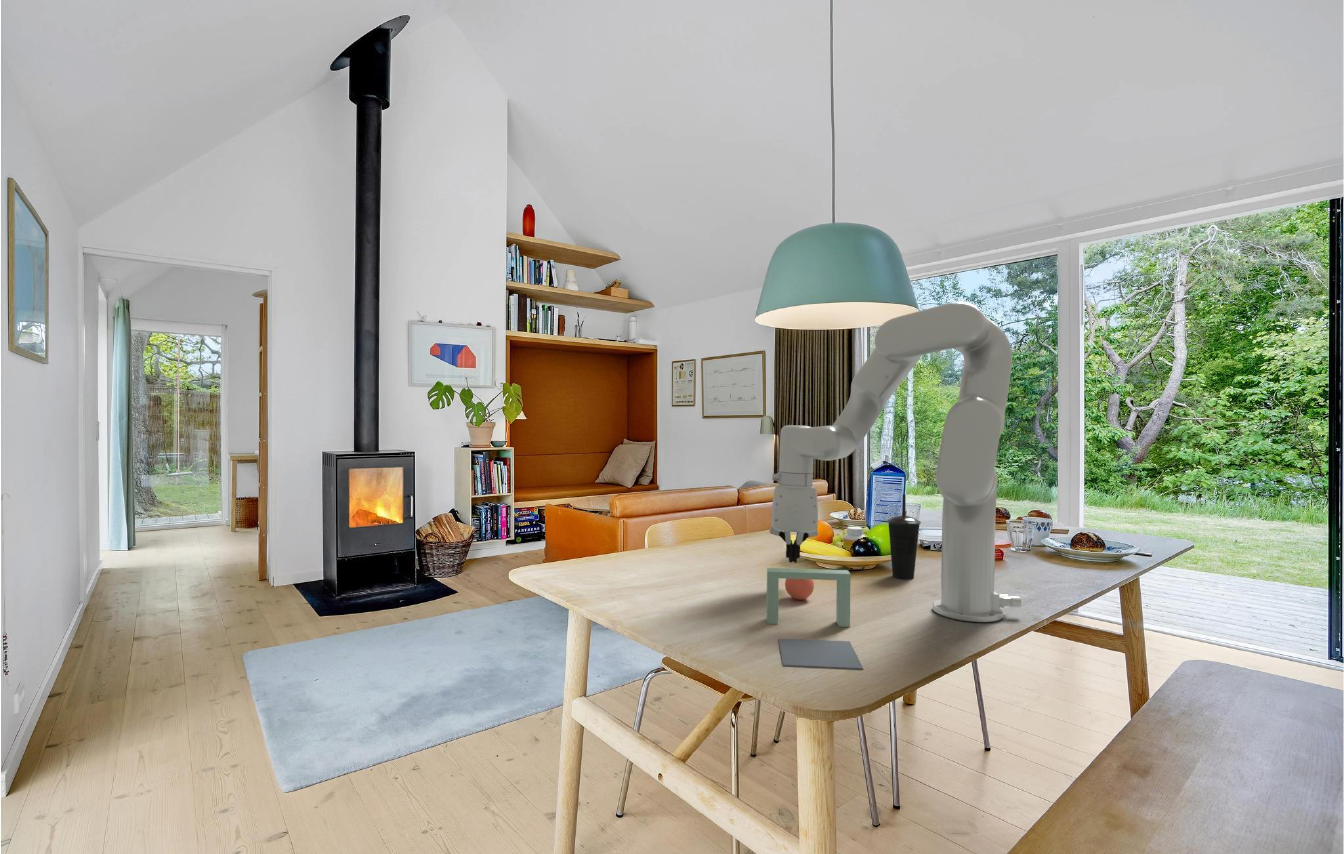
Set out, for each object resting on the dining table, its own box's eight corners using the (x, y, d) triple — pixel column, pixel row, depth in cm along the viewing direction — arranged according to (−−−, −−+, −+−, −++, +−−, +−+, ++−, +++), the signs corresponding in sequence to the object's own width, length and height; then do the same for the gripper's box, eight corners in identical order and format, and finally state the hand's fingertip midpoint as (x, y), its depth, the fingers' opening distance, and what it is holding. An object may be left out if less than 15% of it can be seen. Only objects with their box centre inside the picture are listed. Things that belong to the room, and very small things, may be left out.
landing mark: (849, 642, 110) (849, 641, 110) (863, 669, 98) (863, 668, 98) (778, 639, 111) (778, 638, 111) (783, 665, 99) (783, 664, 99)
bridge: (766, 618, 123) (767, 567, 122) (847, 621, 121) (847, 570, 121) (767, 623, 120) (767, 571, 119) (850, 626, 118) (850, 573, 118)
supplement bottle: (855, 570, 162) (855, 530, 162) (838, 566, 167) (839, 527, 167) (870, 568, 166) (870, 528, 165) (853, 563, 170) (853, 525, 170)
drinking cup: (923, 575, 158) (924, 494, 157) (916, 582, 151) (917, 497, 151) (890, 571, 162) (891, 492, 161) (883, 577, 155) (883, 494, 155)
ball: (812, 595, 139) (812, 567, 139) (815, 603, 133) (815, 574, 133) (783, 594, 140) (784, 567, 139) (786, 602, 134) (786, 573, 133)
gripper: (762, 480, 142) (759, 563, 143) (831, 483, 141) (828, 567, 141) (761, 477, 149) (758, 555, 150) (827, 479, 148) (824, 559, 148)
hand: (792, 561), depth 145 cm, fingers closed
